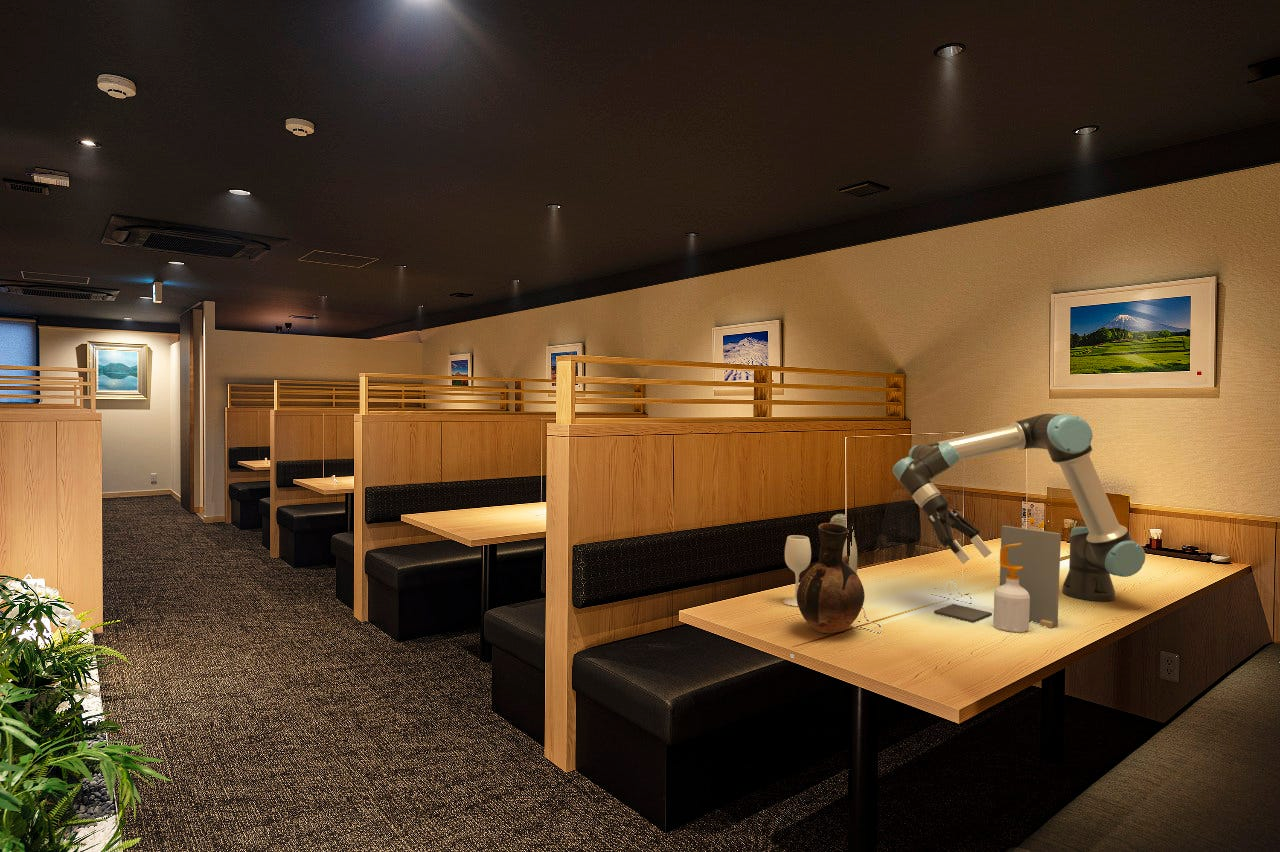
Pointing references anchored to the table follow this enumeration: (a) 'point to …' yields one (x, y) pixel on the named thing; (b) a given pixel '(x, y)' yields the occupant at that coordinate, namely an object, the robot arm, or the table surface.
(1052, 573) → the divider
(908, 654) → the table surface
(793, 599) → the wineglass
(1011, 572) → the soap bottle
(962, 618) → the coaster
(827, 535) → the ceramic vessel
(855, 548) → the glass bottle
